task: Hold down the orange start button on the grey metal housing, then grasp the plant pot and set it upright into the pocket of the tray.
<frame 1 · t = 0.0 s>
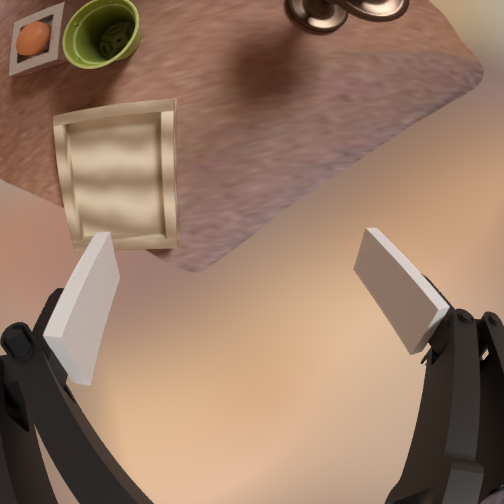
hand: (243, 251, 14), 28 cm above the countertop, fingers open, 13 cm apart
start button: (34, 38, 19), point 4 cm above the countertop, slide at 0.0 cm
plant pot: (119, 41, 26), on the countertop
candlestick: (317, 6, 27), on the countertop
tray: (120, 174, 37), on the countertop
button housing: (48, 41, 22), on the countertop
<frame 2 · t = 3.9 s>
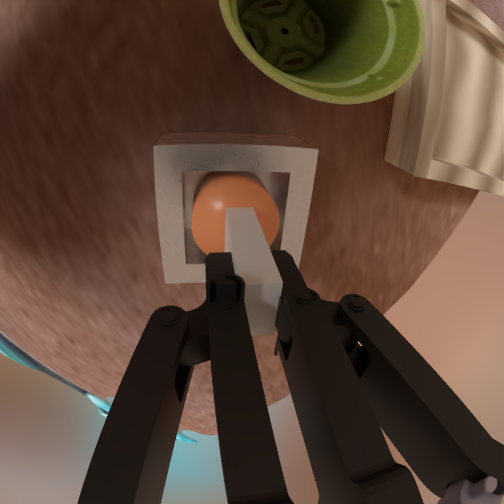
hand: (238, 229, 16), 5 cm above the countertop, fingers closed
start button: (233, 214, 17), point 4 cm above the countertop, slide at 0.6 cm, touching gripper
plant pot: (282, 34, 14), on the countertop
tray: (472, 100, 18), on the countertop
button housing: (228, 193, 20), on the countertop
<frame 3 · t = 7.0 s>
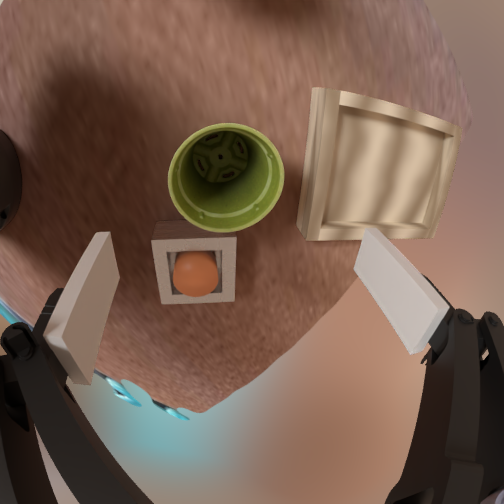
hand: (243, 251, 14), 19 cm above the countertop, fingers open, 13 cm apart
start button: (195, 271, 32), point 4 cm above the countertop, slide at 0.2 cm
plant pot: (220, 156, 29), on the countertop
tray: (379, 166, 32), on the countertop
button housing: (195, 252, 35), on the countertop
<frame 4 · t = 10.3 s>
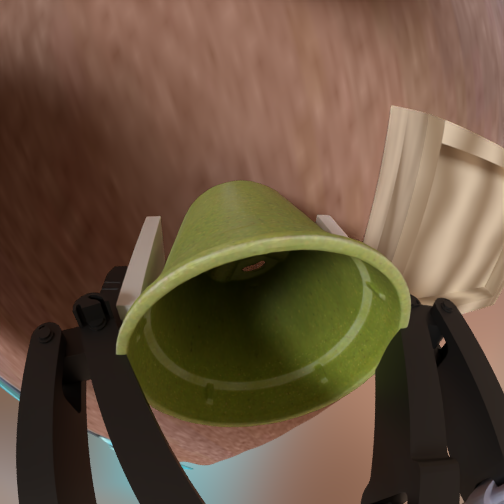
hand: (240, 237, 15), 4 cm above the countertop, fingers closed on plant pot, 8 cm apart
plant pot: (238, 232, 15), point 3 cm above the countertop, touching gripper
tray: (455, 222, 21), on the countertop
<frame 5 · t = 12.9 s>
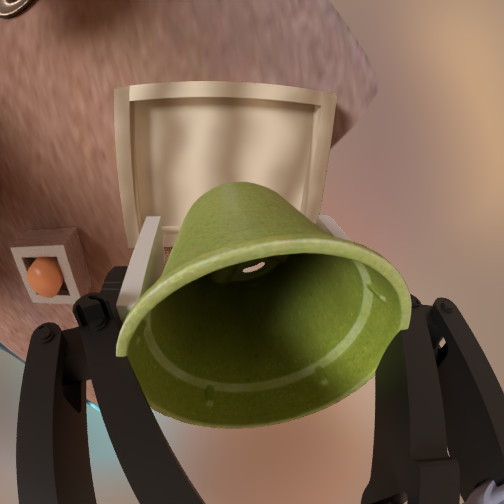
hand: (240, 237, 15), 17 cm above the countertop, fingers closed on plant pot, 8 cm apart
start button: (46, 275, 28), point 4 cm above the countertop, slide at 0.2 cm
plant pot: (239, 233, 15), point 17 cm above the countertop, touching gripper
tray: (221, 159, 29), on the countertop
button housing: (57, 257, 32), on the countertop
when the fingers open (3 cm above the countertop, at t = 16.0 s): plant pot stays where it is, resting on tray.
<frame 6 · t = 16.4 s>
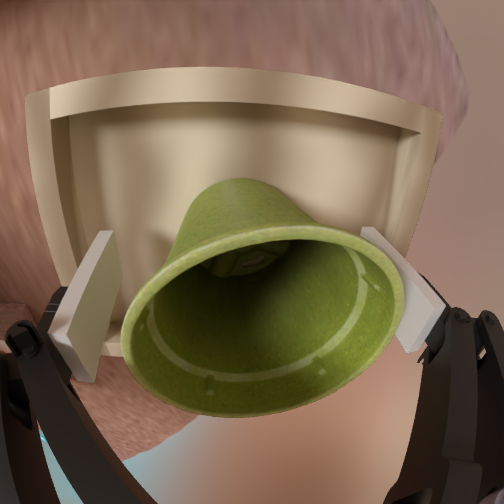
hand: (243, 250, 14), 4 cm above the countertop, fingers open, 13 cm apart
start button: (0, 364, 16), point 4 cm above the countertop, slide at 0.2 cm
plant pot: (238, 228, 16), point 2 cm above the countertop, touching tray
tray: (234, 215, 17), on the countertop
button housing: (13, 334, 20), on the countertop
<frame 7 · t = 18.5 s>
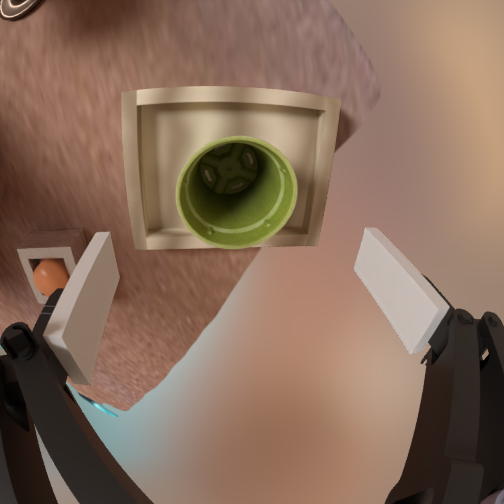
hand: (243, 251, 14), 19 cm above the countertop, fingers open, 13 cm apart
start button: (52, 276, 29), point 4 cm above the countertop, slide at 0.2 cm
plant pot: (229, 166, 28), point 2 cm above the countertop, touching tray
tray: (227, 162, 30), on the countertop
button housing: (63, 258, 33), on the countertop
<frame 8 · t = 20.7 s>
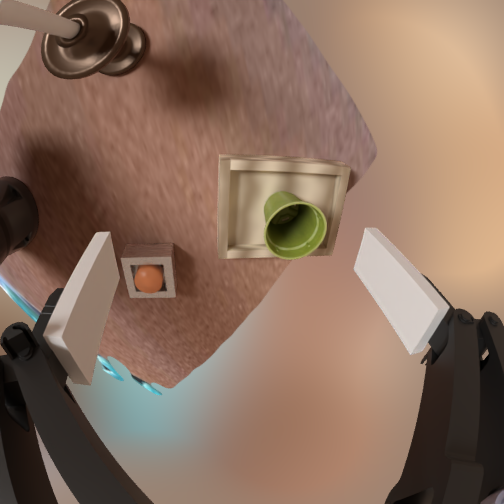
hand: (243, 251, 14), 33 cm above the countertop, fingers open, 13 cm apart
start button: (149, 277, 48), point 4 cm above the countertop, slide at 0.2 cm
plant pot: (281, 207, 47), point 2 cm above the countertop, touching tray
candlestick: (118, 48, 30), on the countertop
tray: (278, 203, 49), on the countertop
button housing: (152, 264, 51), on the countertop
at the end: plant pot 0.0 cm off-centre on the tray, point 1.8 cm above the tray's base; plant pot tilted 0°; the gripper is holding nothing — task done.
